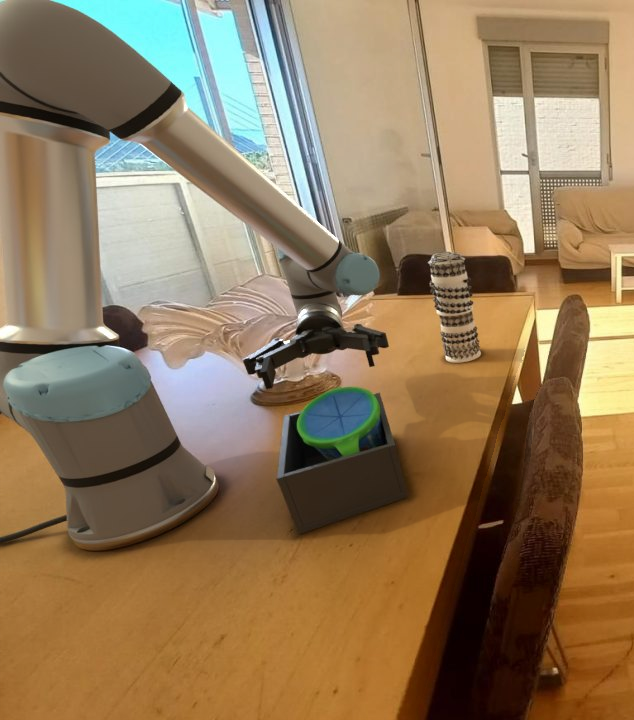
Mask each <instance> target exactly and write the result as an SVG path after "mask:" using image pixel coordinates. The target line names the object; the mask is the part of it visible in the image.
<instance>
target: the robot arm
mask: <svg viewBox="0 0 634 720" xmlns="http://www.w3.org/2000/svg"><path fill="white" fill-rule="evenodd" d="M111 134H112V135H114V137H116V138H117V139H119V140H120V141H122V142H128V143H129V142H130V143H136V144H139V145H141V146H142V147H143V148H144V149H146V150H147V151H148V152H150V153H151V154H152V155H154V156H155V158H158V159H159V160H161V162H163V163H164V164H166V165H167V166H168V167H170V169H172V170H174V171H175V172H176V173H177V174H178V175H180V176H181V177H183V178H184V179H185V180H187V181H188V182H189V183H191V184H192V185H193V186H195V188H197V189H199V190H200V191H201V192H202V193H204V194H205V195H206V196H208V197H209V198H211V200H213V201H215V202H216V204H219V205H220V206H221V207H222V208H224V209H225V210H227V212H229V213H231V215H233V216H234V217H235V218H237V219H238V220H239V221H241V222H242V223H244V224H245V225H246V226H248V228H250V229H251V230H253V231H254V232H256V234H258V235H259V236H261V237H262V238H263V239H265V240H266V241H268V242H269V243H270V244H271V245H273V246H274V247H275V248H276V252H277V256H278V262H279V263H280V266H281V269H282V272H283V275H284V278H285V281H286V283H287V287H288V289H289V292H290V297H291V301H292V304H293V306H294V309H295V312H296V315H297V316H296V317H297V320H296V324H295V326H296V327H295V334H294V336H293V337H292V338H290V340H284V339H282V338H281V337H275V338H273V339H272V340H271V341H270V342H269V343H267V344H266V345H264V346H262V347H261V348H259V349H258V350H256V351H254V352H253V353H251V354H249V355H247V356H246V357H244V358H243V359H242V362H243V365H244V367H245V371H246V373H247V375H249V376H251V375H256V376H257V378H258V379H262V381H263V384H264V387H265V390H270V389H273V388H274V383H275V379H276V374H277V371H276V369H278V368H280V367H282V366H284V365H286V364H288V363H290V362H292V361H294V360H296V359H304V358H307V357H308V356H310V355H312V354H314V355H328V354H331V353H333V352H335V351H337V350H338V351H345V350H347V349H348V350H357V351H364V352H365V355H366V360H367V362H368V363H367V364H368V367H369V368H373V367H375V366H376V365H375V362H374V358H373V356H376V355H377V356H378V355H379V354H380V350H379V348H381V349H387V348H389V347H390V345H389V344H390V343H389V340H388V337H387V333H386V332H383V331H380V330H377V329H373V328H371V327H370V328H369V327H366V326H363V325H362V323H356V324H354V325H353V327H352V329H349V330H347V329H346V328H344V321H343V310H342V307H341V304H340V302H339V300H338V296H337V294H342V295H345V296H365V295H368V294H370V293H372V292H373V291H374V290H376V288H377V286H378V284H379V282H380V275H381V274H380V270H379V267H378V266H379V265H378V264H377V263H376V261H375V260H374V259H373V258H371V257H370V256H368V255H366V254H364V253H360V252H358V251H353V250H352V249H351V248H349V247H348V246H346V244H344V243H343V242H342V241H341V240H340V239H339V238H338V237H336V236H335V235H334V234H332V232H330V231H329V230H328V229H327V228H326V227H324V225H322V224H321V223H320V222H319V221H318V220H316V219H315V217H313V216H312V215H311V214H310V213H309V212H308V211H306V209H304V208H303V207H302V206H301V205H299V204H298V203H297V202H296V201H295V200H294V198H292V197H291V196H289V194H288V193H286V192H285V191H284V190H283V189H282V188H280V186H278V185H277V184H275V182H274V181H272V180H271V179H270V178H269V177H268V176H267V175H266V174H264V172H263V171H261V170H260V169H259V168H258V167H256V166H255V165H254V164H253V163H252V162H251V161H250V160H248V159H247V157H245V156H244V155H243V154H242V153H241V152H240V151H238V150H237V149H236V148H235V147H234V146H233V145H232V144H230V143H229V142H228V141H227V140H226V139H225V138H224V137H222V135H220V134H219V133H218V132H217V131H215V129H213V128H212V127H211V126H210V125H209V124H207V122H206V121H205V120H203V119H202V118H201V117H200V116H199V115H197V113H195V112H194V111H193V110H192V109H191V108H190V107H189V106H188V105H187V101H186V96H185V93H184V92H183V91H182V90H181V89H180V88H179V87H178V86H177V85H176V84H175V83H173V82H172V81H171V80H170V79H169V78H168V77H167V76H166V75H164V73H162V72H161V71H160V70H159V69H158V68H156V66H154V65H153V64H152V63H151V62H150V61H148V60H147V59H146V58H145V57H144V56H143V55H141V54H140V53H139V52H138V51H137V50H136V49H135V48H133V47H132V46H131V45H130V44H128V42H126V41H125V40H123V39H122V38H121V37H120V36H118V34H116V33H115V32H113V31H112V30H111V29H109V28H108V27H106V26H105V25H103V24H102V23H101V22H99V21H97V19H94V18H93V17H91V16H90V15H87V14H86V13H84V12H82V11H81V10H78V9H76V8H73V7H71V6H68V5H66V4H63V3H62V2H61V3H60V2H58V1H54V0H1V1H0V247H1V261H2V272H3V273H2V274H3V284H4V285H3V286H4V298H5V309H6V321H7V322H6V323H5V324H4V325H3V326H1V327H0V413H1V414H2V415H4V416H5V417H6V418H8V419H10V420H11V421H13V422H14V423H15V424H17V425H18V426H19V427H20V428H22V429H24V431H26V432H27V433H28V434H29V435H30V436H31V437H32V439H34V441H35V442H36V444H37V445H38V447H39V448H40V450H41V452H42V453H43V455H44V457H45V458H46V459H47V461H48V463H49V465H50V466H51V468H52V470H53V471H54V473H55V474H56V476H57V477H58V479H59V480H60V483H62V485H63V487H64V490H65V509H66V514H64V515H61V516H59V517H56V518H52V519H49V520H47V521H44V522H41V523H38V524H36V525H33V526H31V527H27V528H26V529H23V530H20V531H16V532H14V533H10V534H6V535H3V536H0V544H3V543H7V542H10V541H14V540H17V539H20V538H23V537H26V536H29V535H31V534H34V533H36V532H39V531H41V530H45V529H47V528H50V527H52V526H56V525H59V524H62V523H65V522H66V529H67V533H68V536H69V537H70V538H71V540H72V542H73V544H74V545H75V546H76V547H78V548H79V549H82V550H85V551H107V550H114V549H118V548H123V547H128V546H131V545H134V544H137V543H141V542H144V541H146V540H149V539H151V538H155V537H156V536H159V535H162V534H164V533H165V532H168V531H170V530H173V529H174V528H176V527H178V526H180V525H182V524H183V523H185V522H187V521H188V520H189V519H191V518H193V517H195V516H196V515H197V514H198V513H200V512H201V511H203V510H204V509H205V508H206V507H207V506H208V505H209V504H210V503H211V502H212V501H213V500H214V499H215V497H216V496H217V494H218V492H219V483H218V480H217V478H216V476H215V471H214V470H213V469H212V468H211V467H210V466H208V465H205V464H204V462H202V461H201V460H199V459H198V458H197V457H196V456H195V455H193V454H192V453H191V452H190V451H189V450H188V449H187V448H185V447H184V446H183V444H182V443H181V441H180V440H181V439H180V438H179V436H178V434H177V432H176V430H175V428H174V425H173V424H172V421H171V419H170V417H169V415H168V413H167V410H166V409H165V406H164V404H163V402H162V400H161V397H160V396H159V394H158V392H157V390H156V388H155V385H154V383H153V381H152V376H151V374H150V370H149V369H148V368H147V367H146V365H145V364H143V362H142V360H141V358H140V357H139V356H138V355H137V354H136V353H134V352H133V351H132V350H130V349H127V348H124V347H120V335H119V334H118V333H116V332H115V331H113V330H112V329H111V328H109V327H108V326H106V324H105V323H104V316H103V315H104V311H103V292H102V291H103V290H102V272H101V271H102V269H101V268H102V267H101V252H100V251H101V250H100V229H99V209H98V192H97V191H98V190H97V189H98V188H97V187H98V186H97V171H96V170H97V169H96V167H97V166H96V153H97V152H98V151H99V150H100V149H102V148H104V147H106V146H107V145H110V144H111Z"/></svg>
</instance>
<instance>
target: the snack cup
mask: <svg viewBox="0 0 634 720" xmlns="http://www.w3.org/2000/svg"><path fill="white" fill-rule="evenodd" d="M373 394H374V393H373V392H372V391H370V390H369V389H367V388H363V387H359V386H343V387H342V386H338V387H336V388H332V389H330V390H327V391H325V392H323V393H322V394H320V395H318V396H316V397H315V398H313V399H312V400H311V401H310V402H308V403H307V404H306V405H305V406H304V407H303V409H301V411H302V412H301V411H300V412H301V413H300V415H299V417H298V420H297V430H298V432H299V434H300V436H301V437H302V439H303V441H304V442H305V443H306V444H308V445H310V446H313V447H315V448H316V449H317V450H318V451H319V452H320V453H321V454H322V455H323V456H324V457H325V458H326V459H328V460H329V461H331V460H334V459H337V458H341V457H344V456H348V455H351V454H355V453H358V452H362V451H365V450H369V449H372V448H376V447H379V446H383V445H385V438H384V433H383V428H382V424H381V419H380V405H379V403H378V400H377V399H376V397H375V396H374V395H373Z"/></svg>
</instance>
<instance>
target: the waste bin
mask: <svg viewBox="0 0 634 720" xmlns="http://www.w3.org/2000/svg"><path fill="white" fill-rule="evenodd" d="M372 394H373V395H374V396H375V397H376V399H377V400H378V403H379V405H380V419H381V424H382V428H383V433H384V438H385V445H383V446H379V447H376V448H372V449H369V450H365V451H362V452H358V453H355V454H351V455H348V456H344V457H341V458H337V459H334V460H331V461H329V460H328V459H326V458H325V457H324V456H323V455H322V454H321V453H320V452H319V451H318V450H317V449H316V448H315V447H313V446H310V445H308V444H306V443H305V442H304V441H303V439H302V437H301V436H300V434H299V432H298V430H297V420H298V417H299V415H300V413H301V412H302V410H301V411H297V412H293V413H290V414H289V413H288V414H285V415H283V422H282V430H281V438H280V446H279V456H278V464H277V473H276V482H277V484H278V487H279V489H280V492H281V494H282V496H283V499H284V502H285V504H286V507H287V509H288V511H289V514H290V518H291V519H292V522H293V524H294V527H295V529H296V532H297V534H298V535H303V534H305V533H307V532H310V531H313V530H317V529H319V528H322V527H325V526H328V525H331V524H334V523H337V522H339V521H340V522H341V521H343V520H346V519H349V518H352V517H355V516H358V515H360V514H363V513H366V512H369V511H372V510H375V509H377V508H380V507H384V506H386V505H389V504H392V503H395V502H399V501H401V500H404V499H407V498H409V493H408V489H407V485H406V481H405V478H404V474H403V470H402V467H401V462H400V458H399V455H398V451H397V448H396V444H395V443H396V442H395V440H394V438H393V437H394V436H393V433H392V430H391V426H390V423H389V419H388V416H387V412H386V409H385V406H384V401H383V398H382V395H381V392H376V393H372Z"/></svg>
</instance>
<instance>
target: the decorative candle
mask: <svg viewBox="0 0 634 720" xmlns="http://www.w3.org/2000/svg"><path fill="white" fill-rule="evenodd" d="M465 260H466V258H465V257H463V256H461V254H460V253H459V252H456V251H442V252H437V253H435V254H432V255H431V258H430V260H429V261H427V264H429V268H430V278H431V280H430V281H429V283H428V284H429V287H430V288H431V289H430V293H431V294H432V296H433V297H432V300H433V302H434V308H435V310H436V314H437V315H439V316H438V317H439V321H440V332H439V334H440V335H441V341H442V343H443V344H442V348H443V353H444V355H445V360H446V361H447V362H449V363H454V364H458V363H468V362H471V361H474V360H477V359H478V358H479V357H481V355H482V352H481V345H480V340H479V333H478V332H477V331H478V327H477V325H476V321H475V318H474V314H473V310H474V309H475V308H474V300H471V299H470V298H472V296H473V295H474V294H473V293H472V292H471V290H472V289H473V287H472V286H471V285H470V284H468V283H470V282H471V281H472V279H471V277H469V276H468V272H467V270H466V264H465Z"/></svg>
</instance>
